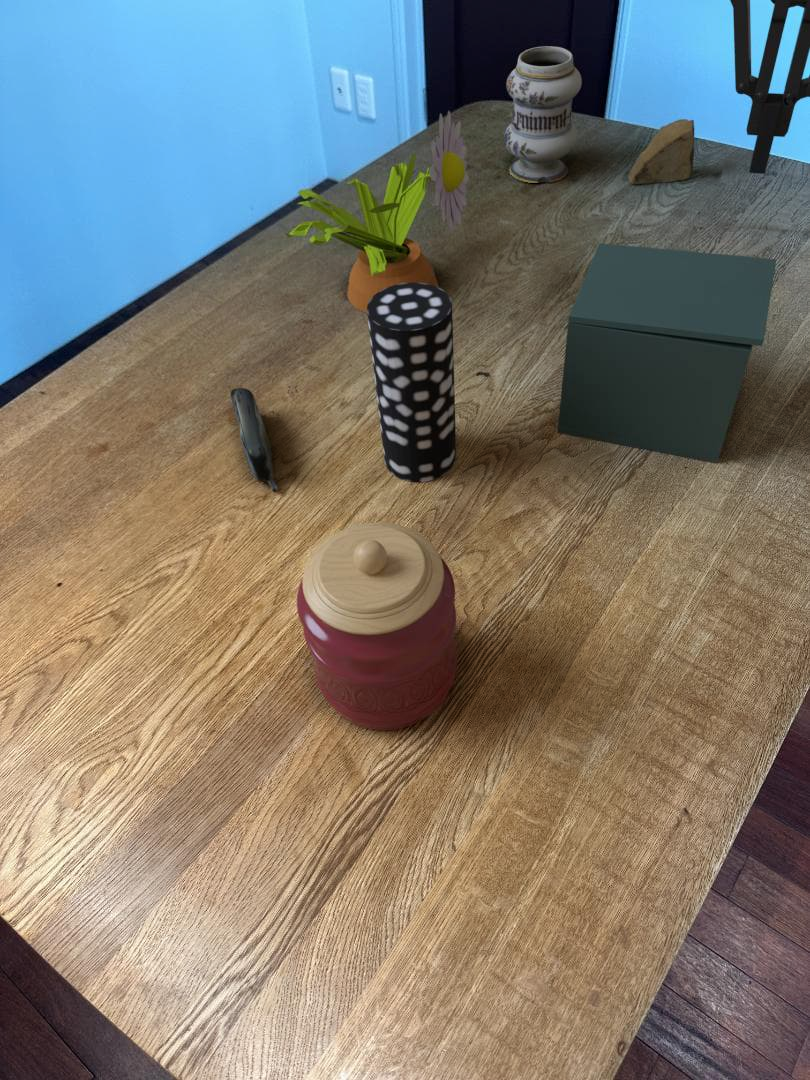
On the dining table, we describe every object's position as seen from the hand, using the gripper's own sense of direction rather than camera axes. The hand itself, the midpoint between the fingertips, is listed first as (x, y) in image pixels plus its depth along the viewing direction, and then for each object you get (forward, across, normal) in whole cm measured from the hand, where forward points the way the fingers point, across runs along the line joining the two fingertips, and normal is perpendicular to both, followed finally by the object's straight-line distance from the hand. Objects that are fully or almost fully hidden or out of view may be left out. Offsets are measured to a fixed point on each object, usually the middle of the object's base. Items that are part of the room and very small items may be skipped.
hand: (757, 166), depth 82 cm
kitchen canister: (+25, -23, -53) cm, 63 cm away
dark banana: (+24, -48, -30) cm, 62 cm away
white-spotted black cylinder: (+25, -29, -25) cm, 46 cm away
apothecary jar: (+25, -33, +48) cm, 64 cm away
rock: (+25, -13, +50) cm, 57 cm away
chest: (+25, -6, -10) cm, 27 cm away
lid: (+10, -6, -9) cm, 14 cm away
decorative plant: (+25, -46, +8) cm, 53 cm away
